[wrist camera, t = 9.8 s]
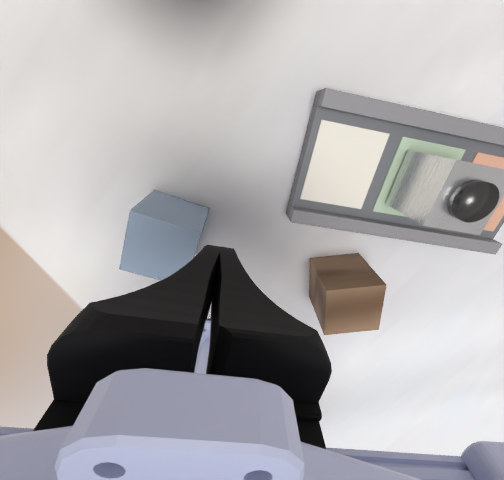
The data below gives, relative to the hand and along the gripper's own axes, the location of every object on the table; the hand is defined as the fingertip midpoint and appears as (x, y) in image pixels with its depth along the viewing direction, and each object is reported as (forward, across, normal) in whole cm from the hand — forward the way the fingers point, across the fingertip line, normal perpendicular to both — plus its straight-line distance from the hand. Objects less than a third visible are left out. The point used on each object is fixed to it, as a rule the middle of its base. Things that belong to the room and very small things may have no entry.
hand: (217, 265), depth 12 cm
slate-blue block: (+10, +4, +3) cm, 11 cm away
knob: (+8, -14, -5) cm, 17 cm away
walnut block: (+10, -11, +5) cm, 16 cm away
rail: (+10, -14, -5) cm, 18 cm away
